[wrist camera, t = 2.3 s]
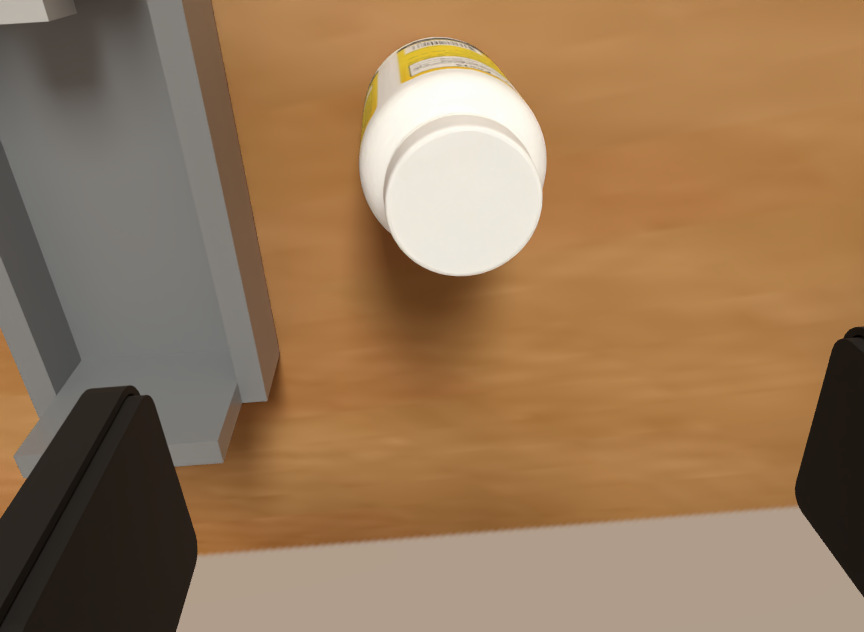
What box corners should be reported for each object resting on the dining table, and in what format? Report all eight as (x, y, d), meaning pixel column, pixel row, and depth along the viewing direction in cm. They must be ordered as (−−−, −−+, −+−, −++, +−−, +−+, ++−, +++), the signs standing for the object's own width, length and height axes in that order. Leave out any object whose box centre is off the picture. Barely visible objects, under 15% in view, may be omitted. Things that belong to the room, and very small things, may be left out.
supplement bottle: (427, 209, 27) (444, 337, 19) (334, 102, 25) (305, 193, 17) (538, 121, 26) (611, 217, 17) (449, 0, 24) (482, 41, 15)
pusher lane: (-138, -195, 20) (-365, -246, 14) (169, -212, 20) (75, -270, 14) (74, 368, 30) (-6, 480, 24) (279, 353, 30) (251, 460, 24)
